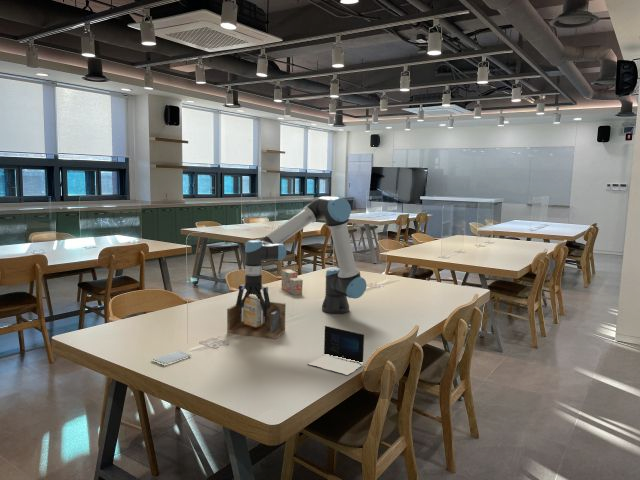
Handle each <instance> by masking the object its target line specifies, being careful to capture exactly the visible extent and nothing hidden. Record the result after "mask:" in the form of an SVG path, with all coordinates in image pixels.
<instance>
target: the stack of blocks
mask: <svg viewBox="0 0 640 480" xmlns="http://www.w3.org/2000/svg"><path fill="white" fill-rule="evenodd" d="M303 281H304V280H303V279H302V278H300V277H298V271H296V270H293V269H292V268H291V269H281V289H282V290H284V291H286V292H288V293H289V294H291V295H293V296H295V295H297V296H298V295H303V284H304V283H303Z"/></svg>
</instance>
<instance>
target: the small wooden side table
mask: <svg viewBox="0 0 640 480" xmlns="http://www.w3.org/2000/svg"><path fill="white" fill-rule="evenodd" d="M242 300H243V298H242ZM242 300H241V302H242ZM270 305H271V307H270V308H269V309H267V315H266V316H265V322H264V323H263V325H262V326H259V327H253V326H250V325H246V324H244V321H243V322H242V314H240V307H239V306H237V305H236V303H235V304H233V305H231V306H229V307H228V308H227V309H226V314H227V315H226V317H227V318H226V319H227V323H226V326H227V327H226V332H227V334H232V335H241V336H242V335H243V336H248V337H255V338H263V339H271V340H276V339H278V338H279V337H280V336H281V335H282V334H284V333H285V332H286V302H278V301H277V302H276V301H270Z"/></svg>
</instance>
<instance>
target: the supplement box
mask: <svg viewBox="0 0 640 480" xmlns="http://www.w3.org/2000/svg"><path fill="white" fill-rule="evenodd" d="M262 299H264V297H263V298H262ZM261 310H262V306H261V304H260V299H258V297H257V296H256V295H252V294H250V295H249V296H248V297H247V298H246V300H245V302H244V324H246V325H250V326H253V327H259V326H262V325H263V324H261Z"/></svg>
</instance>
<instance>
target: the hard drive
mask: <svg viewBox="0 0 640 480" xmlns="http://www.w3.org/2000/svg"><path fill="white" fill-rule="evenodd" d="M190 356H191V357H192V354H189V353H187V352H185V351H181V350H177V351H176V350H175V351H173V352H170V353H167V354H164V355H161V356H158V357H155V358H152V359H153V360H155V361H158V362H160V363H163V364H168V363H170V362H174V361H177V360H180V359H183V358H186V357H190Z"/></svg>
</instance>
